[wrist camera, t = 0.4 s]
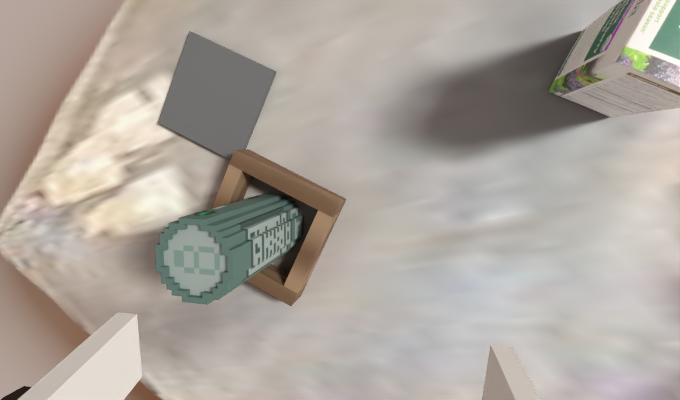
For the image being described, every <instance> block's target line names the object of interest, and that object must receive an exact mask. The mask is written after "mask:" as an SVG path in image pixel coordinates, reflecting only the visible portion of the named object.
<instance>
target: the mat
mask: <svg viewBox="0 0 680 400" xmlns="http://www.w3.org/2000/svg"><path fill="white" fill-rule="evenodd" d="M275 75H276V71H274V70H272V69H269V68H267V67H265V66H263V65H261V64H259V63H257V62H255V61H252V60H250V59H248V58H246V57H244V56H242V55H240V54H237V53H235V52H233V51H231V50H229V49H227V48H225V47H223V46H220V45H218V44H216V43H214V42H212V41H210V40H208V39H205V38H203V37H201V36H199V35H197V34H195V33H193V32H189V35H188V37H187V40H186V43H185V46H184V49H183V52H182V55H181V58H180V60H179V63H178V66H177V69H176V72H175V75H174V78H173V81H172V84H171V86H170V89H169V92H168V95H167V98H166V101H165V104H164V107H163V110H162V112H161V115H160V118H159V121H158V123H160V124H162V125H164V126H166V127H168V128H170V129H172V130H173V131H175V132H177V133H179V134H181V135H183V136H185V137H187V138H189V139H191V140H193V141H195V142H197V143H199V144H201V145H202V146H204V147H206V148H208V149H210V150H212V151H214V152H216V153H218V154H220V155H222V156H224V157H226V158H228V159H230V160H231V158H232V156H233V153H234V150H246V147H247V145H248V142H249V140H250V137H251V135H252V132H253V130H254V127H255V125H256V122H257V120H258V117H259V115H260V112H261V110H262V107H263V105H264V102H265V100H266V97H267V95H268V92H269V90H270V87H271V85H272V82H273V80H274V77H275Z"/></svg>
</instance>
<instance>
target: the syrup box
mask: <svg viewBox="0 0 680 400" xmlns="http://www.w3.org/2000/svg"><path fill="white" fill-rule="evenodd" d="M549 92H551V93H553V94H555V95H558V96H560V97H563V98H565V99H568V100H570V101H573V102H575V103H578V104H580V105H583V106H585V107H587V108H590V109H592V110H595V111H597V112H599V113H602V114H604V115H607V116H609V117H618V116H624V115H632V114H638V113H646V112H653V111H660V110H666V109H673V108H680V0H621V1H620V2H619V3H617V4H616V5H615V6H613V7H612V8H611V9H609V10H608V11H607V12H605V13H604V14H603V15H602V16H600V17H599V18H598V19H596V20H595V21H594V22H593V23H591V24H590V25H589V26H588V27H586V28H585V29H584V30H583V31H582V32H581V34H580V36H579V37H578V39H577V40H576V42H575V44H574V46H573V47H572V49H571V51H570V52H569V54H568V56H567V58H566V60H565V61H564V63H563V65H562V67H561V69H560V70H559V72H558V74H557V76H556V78H555V80H554V82H553V84H552V85H551V87H550V89H549Z"/></svg>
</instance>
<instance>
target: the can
mask: <svg viewBox="0 0 680 400" xmlns="http://www.w3.org/2000/svg"><path fill="white" fill-rule="evenodd" d="M301 235H303V215H299V207H295V203H291V199H286V198H284V194H263V195H259V196H256V197H252V198H248V199H245V200H241V201H238V202H234V203H231V204H227V205H223V206H220V207H216V208H213V209H209V210H206V211H202V212H198V213H195V214H191V215H188V216H184V217H181V218H179V220H178V221H174V222H171V223H169V227H167V228H164V232H163V233H160V234H159V240H160V243H158V244H155V260H156V272H161V283H163V284H166V285H167V289H169V290H172V295H175V296H182V302H189V303H199V304H209V303H210V302H212V301H213V300H219V299H220V298H221V297H223V296H224V295H226V294H227V293H229V292H230V291H232V290H233V289H235V288H236V287H237V286H239V285H240V284H242V283H243V282H245V281H246V280H248V279H249V278H251V277H252V276H253V275H255V274H256V273H258V272H259V271H261V270H262V269H264V268H265V267H267V266H268V265H269V264H271V263H272V262H274V261H275V260H277V259H278V258H280V257H281V256H282V255H284V254H285V253H287V252H288V251H290V250H291V249H292V248H293V247H294V246H295V244H297V243H298V242H299V237H300V236H301Z"/></svg>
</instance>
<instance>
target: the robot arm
mask: <svg viewBox="0 0 680 400" xmlns="http://www.w3.org/2000/svg"><path fill="white" fill-rule="evenodd" d="M141 377H142V369H141V357H140V345H139V332H138V320H137V314H132V313H121V312H117V313H116V314H115V315H114V316H113V317H111V318H110V319H109V320H108V321H107V322H106V323H105V324H103V325H102V326H101V327H100V328H99V329H98V330H97V331H95V332H94V333H93V334H92V335H91V336H90V337H89V338H87V339H86V340H85V341H84V342H83V343H82V344H81V345H79V346H78V347H77V348H76V349H75V350H74V351H73V352H71V353H70V354H69V355H68V356H67V357H66V358H65V359H63V360H62V361H61V362H60V363H59V364H58V365H57V366H55V367H54V368H53V369H52V370H51V371H50V372H49V373H47V374H46V375H45V376H44V377H43V378H42V379H41V380H39V381H38V382H37V383H36V384H35V385H34V386H33V387H26V386H24V387H22V388H20V389H18V390H16V391H14V392H13V393H11V394H9V395H7V396H5V397H3V398H2V399H1V400H124V399H125V397H126V396H127V395H128V394H129V392H130V391H131V390H132V389H133V387H134V386H135V385H136V383H137V382H138V381H139V380H140V379H141ZM482 400H541V399H540V397H539V395H538V394H537V392H536V390H535V388H534V386H533V384H532V382H531V380H530V378H529V377H528V375H527V373H526V371H525V369H524V367H523V365H522V363H521V361H520V360H519V358H518V356H517V354H516V352H515V350H514V348H513V346H502V345H491V346H490V352H489V359H488V365H487V371H486V378H485V384H484V390H483V397H482Z"/></svg>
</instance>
